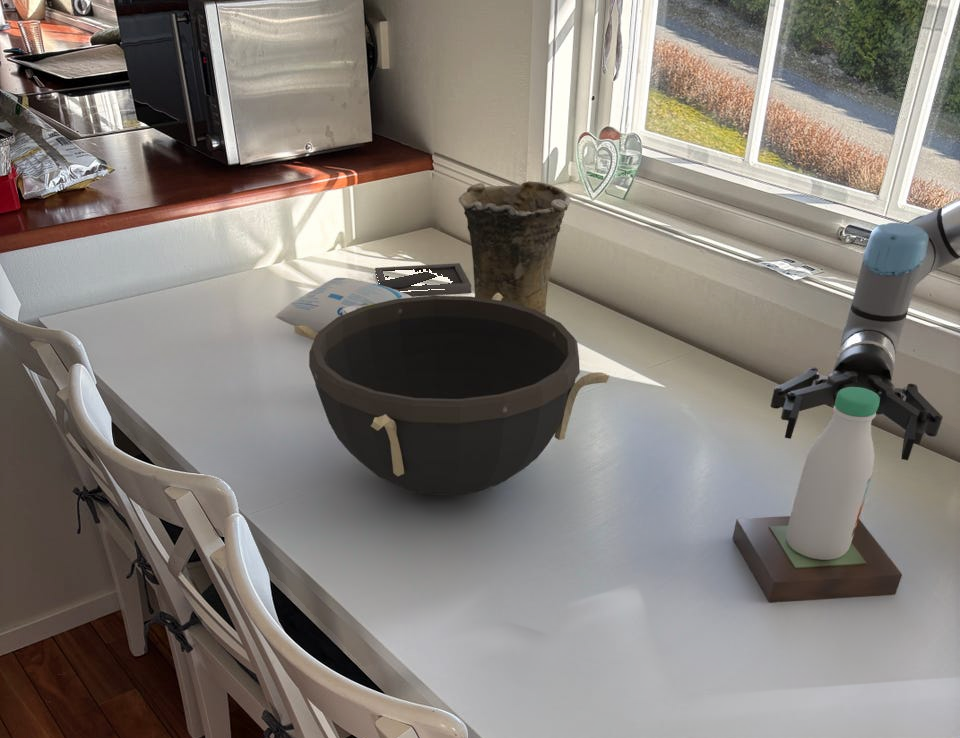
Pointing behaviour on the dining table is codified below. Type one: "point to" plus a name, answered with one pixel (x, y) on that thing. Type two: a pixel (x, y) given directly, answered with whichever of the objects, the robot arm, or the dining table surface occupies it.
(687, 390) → the dining table surface
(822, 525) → the milk bottle
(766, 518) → the brown wooden platform
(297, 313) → the pouch
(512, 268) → the vase
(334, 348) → the bowl
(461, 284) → the picture frame
